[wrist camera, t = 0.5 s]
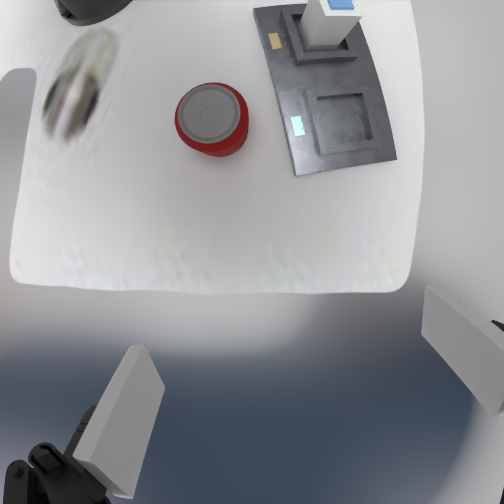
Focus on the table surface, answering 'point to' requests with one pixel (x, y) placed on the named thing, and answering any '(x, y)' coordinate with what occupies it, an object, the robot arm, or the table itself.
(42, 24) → the table surface
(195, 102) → the beverage can
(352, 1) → the plug
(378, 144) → the grey socket board
